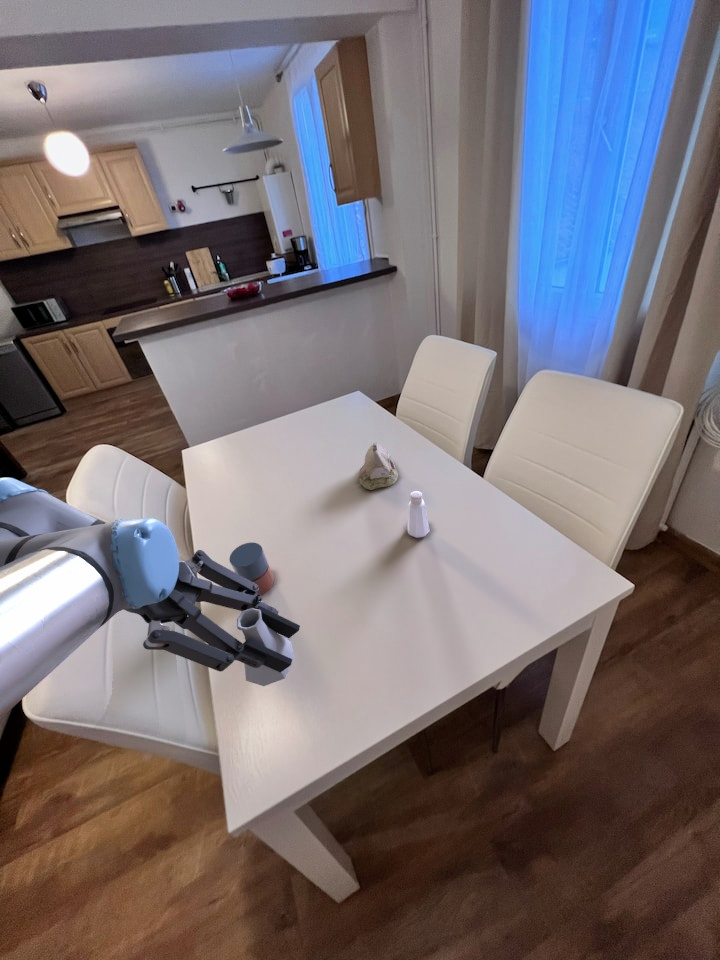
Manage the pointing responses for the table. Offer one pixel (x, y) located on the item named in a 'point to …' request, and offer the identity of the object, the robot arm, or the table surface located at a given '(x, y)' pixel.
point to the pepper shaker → (417, 516)
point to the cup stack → (252, 565)
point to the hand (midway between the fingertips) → (290, 648)
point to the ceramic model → (377, 468)
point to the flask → (266, 637)
